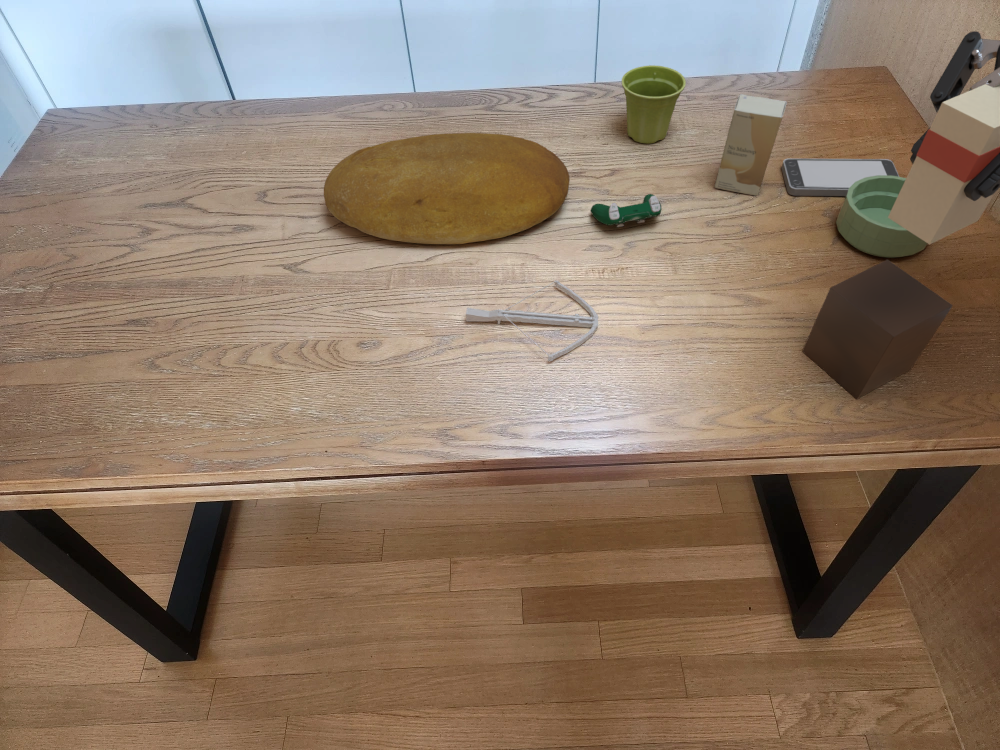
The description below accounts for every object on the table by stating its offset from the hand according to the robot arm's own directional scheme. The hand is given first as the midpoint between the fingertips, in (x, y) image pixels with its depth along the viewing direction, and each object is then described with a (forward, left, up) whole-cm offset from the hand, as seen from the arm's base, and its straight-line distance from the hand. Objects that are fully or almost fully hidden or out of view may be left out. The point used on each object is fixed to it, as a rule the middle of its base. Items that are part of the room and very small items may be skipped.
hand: (942, 179), depth 55 cm
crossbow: (+24, +26, -25) cm, 43 cm away
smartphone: (+25, -25, -24) cm, 43 cm away
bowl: (+14, -21, -24) cm, 35 cm away
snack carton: (0, -2, -5) cm, 5 cm away
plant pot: (+50, -10, -25) cm, 56 cm away
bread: (+50, +25, -25) cm, 61 cm away
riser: (0, -2, -24) cm, 24 cm away
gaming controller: (+34, +5, -25) cm, 42 cm away
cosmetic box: (+32, -13, -25) cm, 42 cm away
